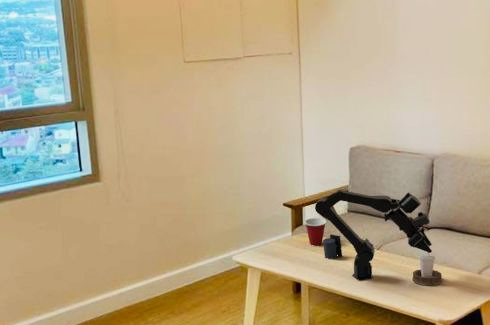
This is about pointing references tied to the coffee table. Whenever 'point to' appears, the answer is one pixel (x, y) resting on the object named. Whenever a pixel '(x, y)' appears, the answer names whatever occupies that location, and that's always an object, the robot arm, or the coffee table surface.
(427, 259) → the smoothie
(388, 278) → the coffee table surface
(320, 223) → the plastic cup
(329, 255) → the speaker
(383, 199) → the robot arm
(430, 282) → the bowl
